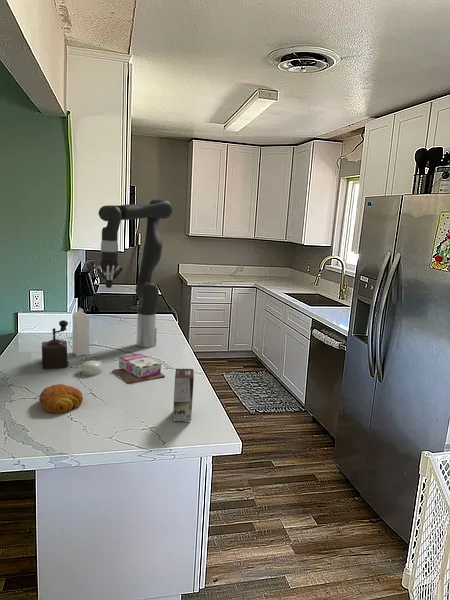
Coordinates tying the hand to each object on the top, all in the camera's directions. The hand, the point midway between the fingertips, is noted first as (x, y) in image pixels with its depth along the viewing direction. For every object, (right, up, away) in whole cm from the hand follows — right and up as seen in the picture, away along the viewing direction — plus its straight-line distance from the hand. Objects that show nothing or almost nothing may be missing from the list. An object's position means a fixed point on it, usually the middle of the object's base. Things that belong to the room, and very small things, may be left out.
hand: (108, 287), depth 207 cm
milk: (-15, -32, +7) cm, 36 cm away
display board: (+17, -38, -14) cm, 44 cm away
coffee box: (+39, -47, -51) cm, 79 cm away
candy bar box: (+11, -33, -6) cm, 35 cm away
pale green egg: (-3, -37, -16) cm, 40 cm away
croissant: (-4, -43, -49) cm, 65 cm away
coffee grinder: (-22, -34, -8) cm, 41 cm away
